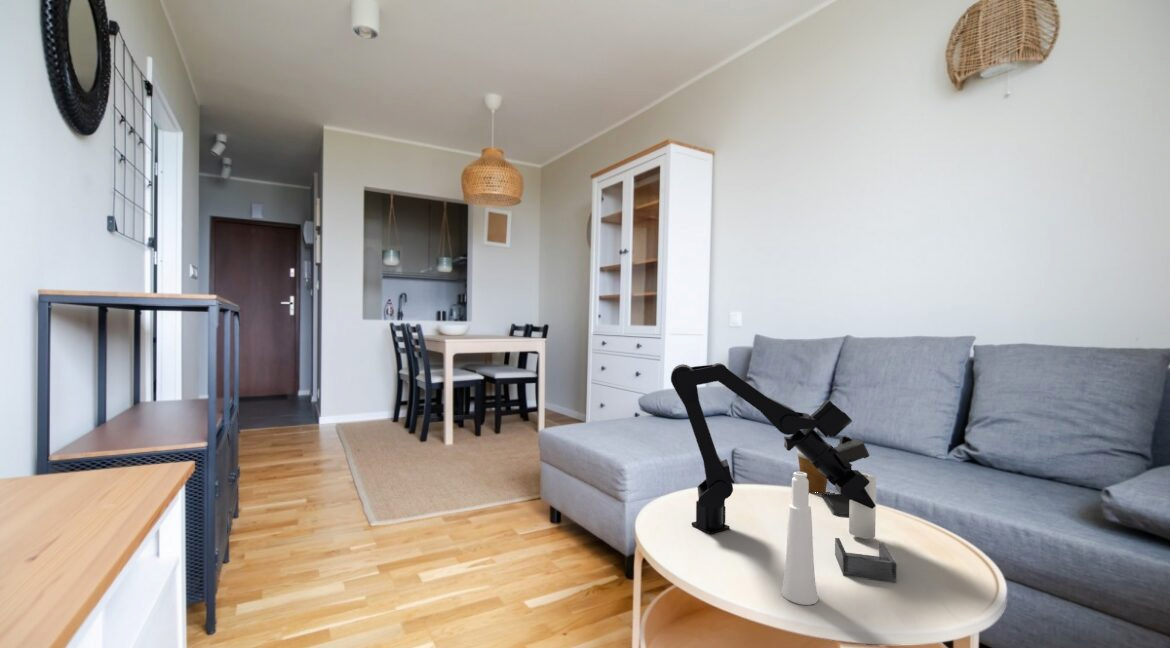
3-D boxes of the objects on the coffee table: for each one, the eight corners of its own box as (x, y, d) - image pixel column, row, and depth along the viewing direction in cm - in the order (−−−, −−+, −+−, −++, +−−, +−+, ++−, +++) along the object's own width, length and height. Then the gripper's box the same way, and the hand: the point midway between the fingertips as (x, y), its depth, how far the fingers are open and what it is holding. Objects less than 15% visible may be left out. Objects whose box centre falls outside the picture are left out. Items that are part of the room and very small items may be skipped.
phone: (851, 495, 140) (867, 515, 126) (851, 499, 140) (867, 520, 126) (820, 493, 142) (833, 512, 128) (820, 497, 142) (833, 517, 128)
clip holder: (896, 582, 95) (896, 563, 95) (843, 575, 98) (843, 556, 98) (883, 560, 104) (883, 543, 104) (834, 554, 106) (835, 537, 106)
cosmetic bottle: (774, 591, 92) (774, 470, 92) (798, 584, 94) (799, 466, 94) (800, 608, 86) (801, 480, 86) (825, 600, 89) (826, 475, 89)
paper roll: (866, 540, 111) (867, 479, 110) (844, 531, 115) (844, 473, 115) (880, 535, 113) (880, 476, 113) (857, 527, 118) (858, 470, 118)
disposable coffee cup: (833, 488, 148) (834, 447, 148) (829, 498, 140) (830, 454, 140) (799, 482, 153) (799, 443, 153) (793, 491, 145) (793, 450, 145)
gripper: (859, 436, 105) (916, 493, 104) (832, 419, 124) (880, 467, 122) (818, 472, 107) (874, 528, 105) (797, 449, 125) (844, 497, 123)
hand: (869, 502), depth 114 cm, fingers closed on paper roll, 5 cm apart
